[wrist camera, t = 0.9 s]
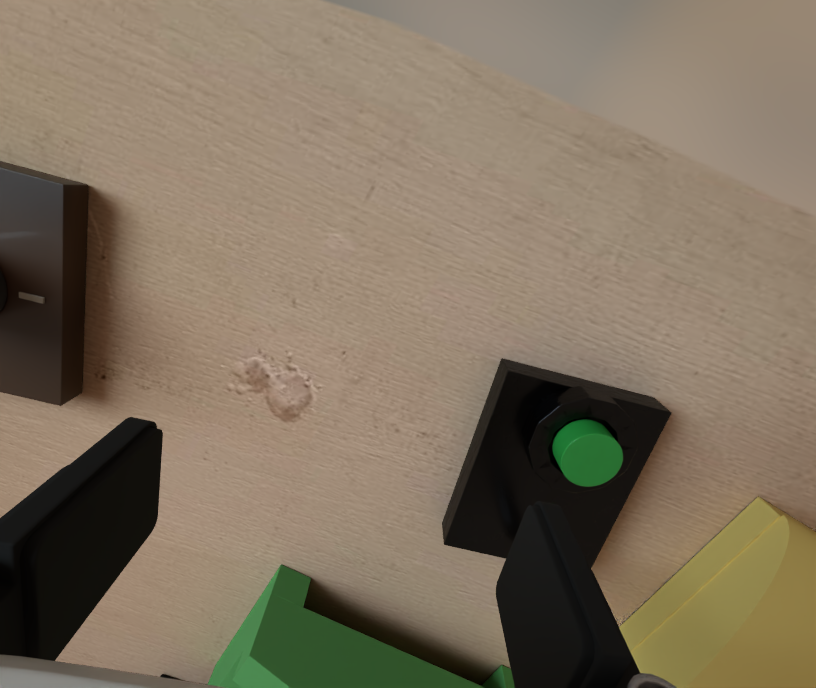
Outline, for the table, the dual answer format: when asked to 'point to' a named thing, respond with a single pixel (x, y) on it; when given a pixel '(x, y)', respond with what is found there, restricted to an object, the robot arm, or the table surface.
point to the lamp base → (545, 458)
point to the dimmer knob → (2, 291)
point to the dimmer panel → (42, 284)
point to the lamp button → (587, 453)
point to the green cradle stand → (321, 650)
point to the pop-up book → (735, 609)
